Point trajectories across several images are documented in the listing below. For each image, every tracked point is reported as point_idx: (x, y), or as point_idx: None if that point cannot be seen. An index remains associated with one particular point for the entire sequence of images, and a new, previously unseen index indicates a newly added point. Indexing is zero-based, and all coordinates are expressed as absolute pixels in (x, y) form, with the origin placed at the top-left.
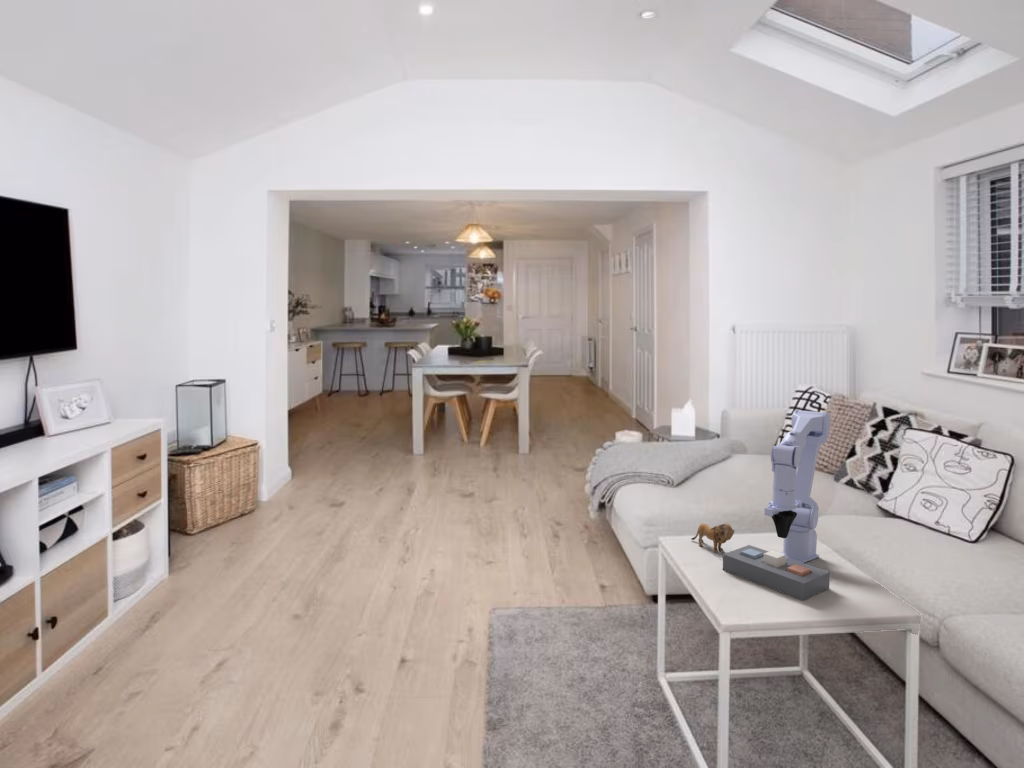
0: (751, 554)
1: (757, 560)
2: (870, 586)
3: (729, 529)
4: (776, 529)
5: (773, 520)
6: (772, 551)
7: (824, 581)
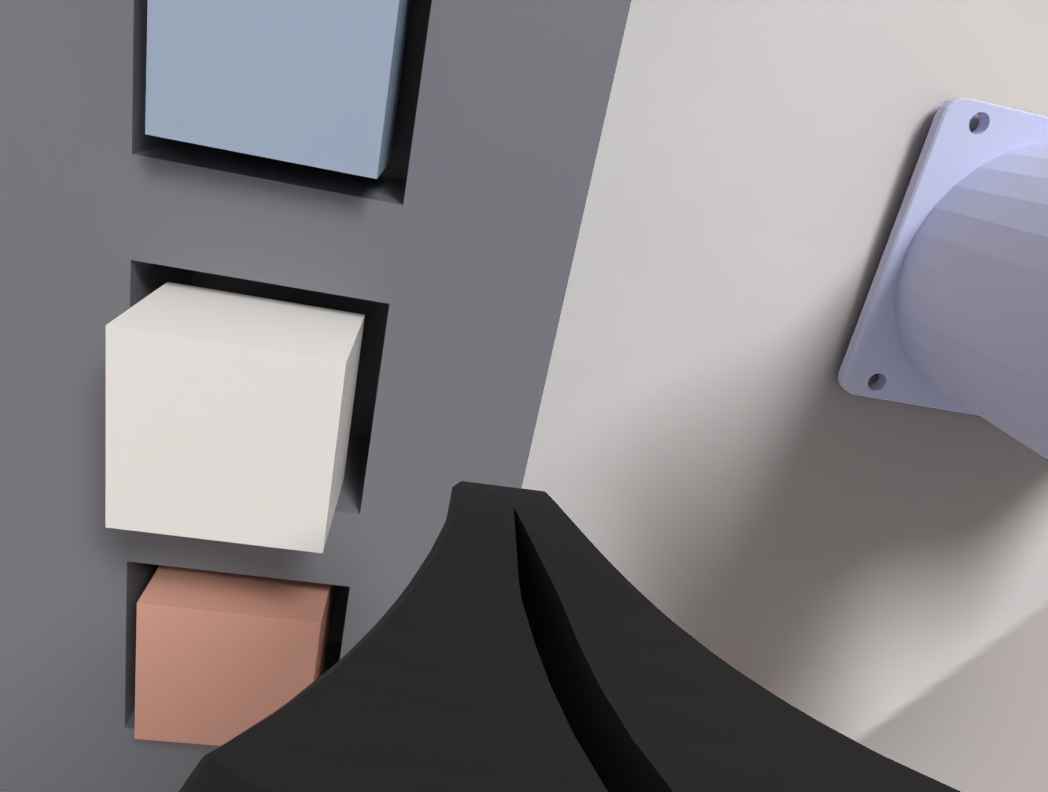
0: (170, 78)
1: (139, 205)
2: None
3: None
4: (433, 548)
5: (347, 660)
6: (302, 381)
7: None
